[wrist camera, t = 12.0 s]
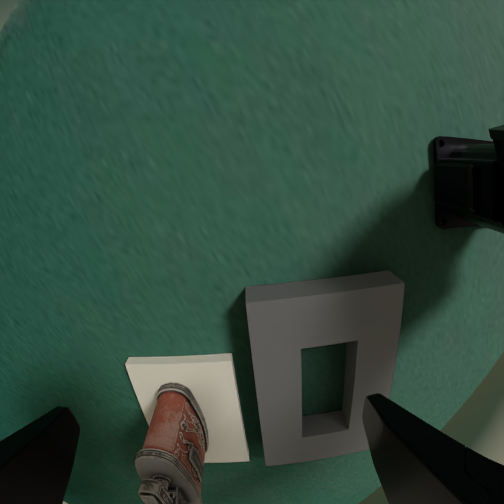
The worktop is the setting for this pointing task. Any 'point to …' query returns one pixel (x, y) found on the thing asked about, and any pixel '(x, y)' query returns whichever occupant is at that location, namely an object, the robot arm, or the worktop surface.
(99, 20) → the worktop surface
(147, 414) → the rubber mat
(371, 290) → the grey rectangular frame
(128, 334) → the worktop surface
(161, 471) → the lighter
